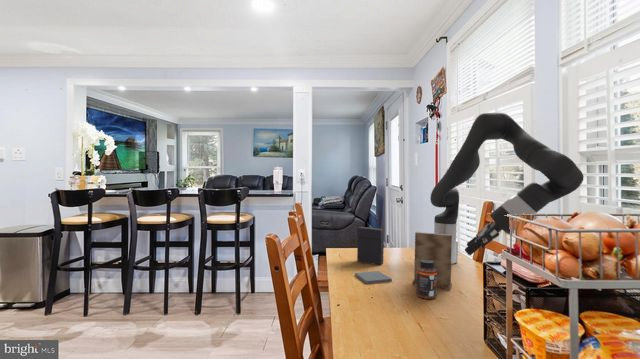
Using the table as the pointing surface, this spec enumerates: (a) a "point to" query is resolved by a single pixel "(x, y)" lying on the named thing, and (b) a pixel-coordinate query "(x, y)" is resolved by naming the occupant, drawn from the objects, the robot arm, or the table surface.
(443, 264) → the screen
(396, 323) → the table surface
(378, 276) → the pad
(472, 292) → the table surface
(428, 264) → the supplement bottle
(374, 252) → the dark gray upright block
